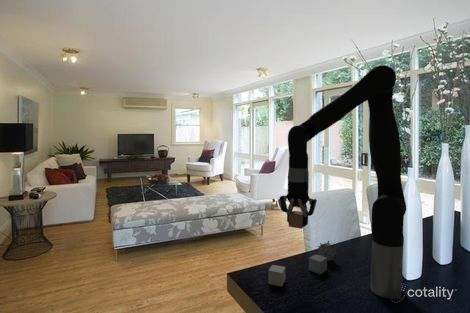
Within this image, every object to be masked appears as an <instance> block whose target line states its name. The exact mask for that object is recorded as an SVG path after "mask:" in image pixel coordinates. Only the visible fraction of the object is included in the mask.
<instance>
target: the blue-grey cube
mask: <svg viewBox="0 0 470 313" xmlns="http://www.w3.org/2000/svg"><path fill="white" fill-rule="evenodd" d="M316 254H317V253H315V254H313V255H311V256H310V257H309V258H308V271H310V272H313V273H315V274H318V275H322V274H323V273H325V272H326V271H327V269H328V262H327V258H325V257H322V256H319V255H318V254H317V255H316Z"/></svg>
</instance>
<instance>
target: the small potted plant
mask: <svg viewBox="0 0 470 313" xmlns="http://www.w3.org/2000/svg"><path fill="white" fill-rule="evenodd" d="M319 245H320V246H319ZM319 245H318V246H317V248H318V251H317V253H315V254H316V255H319V256H322V257H325V258H327V263H328V262H331V261H332V262H334V260H335V259H337V257H336V255H337V252H338V251H339V249H336V248H335V247H334V245H333V244H331V243H330V241H329V240H327V242H326V243H321V242H320V244H319Z"/></svg>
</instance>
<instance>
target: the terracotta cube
mask: <svg viewBox="0 0 470 313" xmlns="http://www.w3.org/2000/svg"><path fill="white" fill-rule="evenodd" d="M288 227H289V228H294V229H299V230H300V229H301V230H302V229H304V228H305V227H304V226H303V213H302V211H301V210H300V211H299V210H294V209H293V210H292V212H290V213H289V224H288Z"/></svg>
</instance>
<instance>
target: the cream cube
mask: <svg viewBox="0 0 470 313" xmlns="http://www.w3.org/2000/svg"><path fill="white" fill-rule="evenodd" d="M286 268H287V267H286V266H282V265H275V264H271V266H270V267H269V269H268V280H267V282H268V285H272V286H277V287H283V286H284V284H285V282H286Z"/></svg>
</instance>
